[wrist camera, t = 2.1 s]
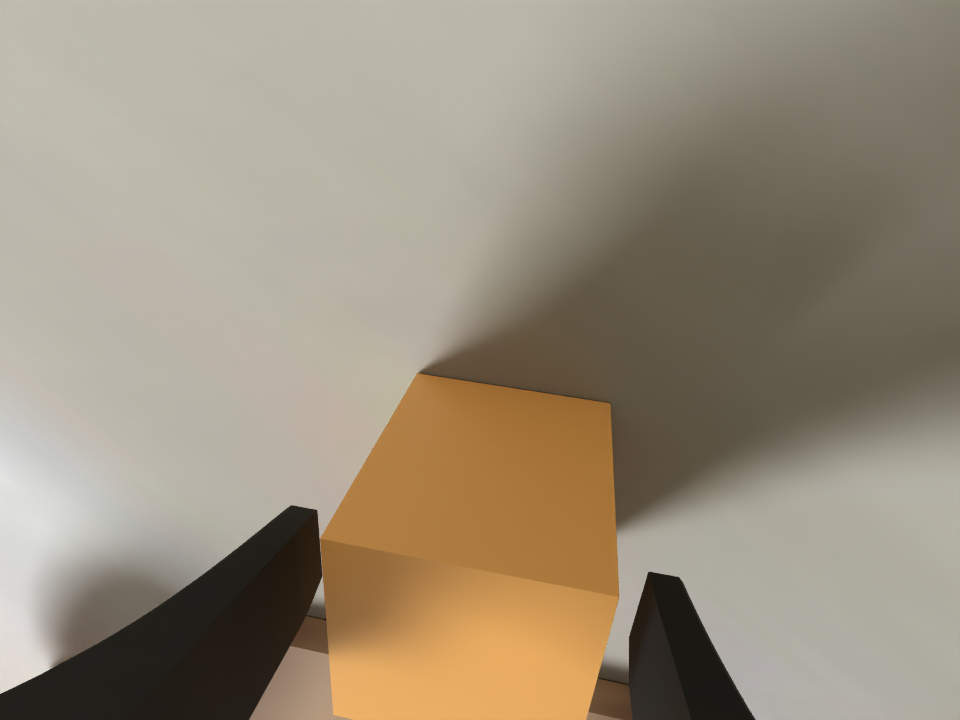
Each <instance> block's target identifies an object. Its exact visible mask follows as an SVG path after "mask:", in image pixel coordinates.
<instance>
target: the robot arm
mask: <svg viewBox="0 0 960 720" xmlns="http://www.w3.org/2000/svg"><path fill="white" fill-rule="evenodd" d="M321 578H322V565H321V552H320V539H319V526H318V513H317V510H314V509H309V508H303V507H298V506H292V505H291V506H290V507H288V508H287V509H286V510H284V511H283V512H282V513H281V514H279V515H278V516H277V517H276V518H274V519H273V520H272V521H271V522H269V523H268V524H267V525H266V526H264V527H263V528H262V529H261V530H260V531H258V532H257V533H256V534H255V535H253V536H252V537H251V538H250V539H248V540H247V541H246V542H245V543H243V544H242V545H241V546H240V547H238V548H237V549H236V550H234V551H233V552H232V553H231V554H229V555H228V556H227V557H225V558H224V559H223V560H221V561H220V562H219V563H218V564H216V565H215V566H214V567H212V568H211V569H210V570H208V571H207V572H206V573H204V574H203V575H202V576H200V577H199V578H198V579H196V580H195V581H193V582H192V583H191V584H189V585H188V586H186V587H185V588H184V589H182V590H181V591H179V592H178V593H176V594H175V595H174V596H172V597H171V598H169V599H168V600H167V601H165V602H164V603H162V604H161V605H159V606H158V607H156V608H155V609H153V610H152V611H150V612H149V613H147V614H146V615H144V616H142V617H141V618H139V619H138V620H136V621H135V622H133V623H131V624H130V625H128V626H127V627H125V628H123V629H122V630H120V631H118V632H117V633H115V634H113V635H112V636H110V637H108V638H107V639H105V640H103V641H101V642H100V643H98V644H96V645H94V646H93V647H91V648H89V649H87V650H85V651H83V652H82V653H80V654H78V655H76V656H74V657H72V658H71V659H69V660H67V661H65V662H63V663H61V664H59V665H58V666H56V667H54V668H52V669H50V670H48V671H46V672H45V673H43V674H41V675H39V676H37V677H35V678H33V679H31V680H28V681H26V682H24V683H22V684H20V685H18V686H16V687H14V688H12V689H10V690H8V691H6V692H4V693H1V694H0V720H249V719H250V717H251V715H252V714H253V712H254V710H255V708H256V707H257V705H258V703H259V701H260V699H261V698H262V696H263V694H264V692H265V690H266V689H267V687H268V685H269V683H270V681H271V680H272V678H273V676H274V674H275V672H276V671H277V669H278V667H279V665H280V663H281V662H282V660H283V658H284V656H285V654H286V653H287V651H288V649H289V647H290V645H291V643H292V642H293V640H294V638H295V636H296V634H297V633H298V631H299V629H300V627H301V625H302V623H303V621H304V619H305V617H306V615H307V612H308V610H309V608H310V605H311V603H312V600H313V598H314V595H315V593H316V590H317V588H318V585H319V583H320V580H321ZM629 691H630V700H631V710H632V719H633V720H755V718H754V716H753V715H752V713H751V712H750V710H749V708H748V707H747V705H746V703H745V702H744V700H743V698H742V696H741V695H740V693H739V691H738V690H737V688H736V686H735V684H734V682H733V681H732V679H731V677H730V675H729V673H728V672H727V670H726V668H725V666H724V664H723V663H722V661H721V659H720V657H719V655H718V653H717V651H716V650H715V648H714V646H713V644H712V642H711V640H710V638H709V636H708V634H707V632H706V630H705V628H704V626H703V624H702V622H701V620H700V618H699V616H698V614H697V612H696V610H695V608H694V606H693V603H692V601H691V599H690V597H689V595H688V593H687V590H686V588H685V586H684V584H683V582H682V581H681V579H680V578H679V577H675V576H670V575H664V574H659V573H653V572H648V575H647V579H646V582H645V586H644V589H643V592H642V596H641V599H640V602H639V606H638V609H637V612H636V616H635V619H634V623H633V626H632V629H631V633H630V636H629Z"/></svg>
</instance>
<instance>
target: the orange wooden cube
mask: <svg viewBox="0 0 960 720" xmlns="http://www.w3.org/2000/svg"><path fill="white" fill-rule="evenodd" d="M320 542H321V556H322V569H323V583H324V596H325V610H326V623H327V637H328V650H329V664H330V677H331V690H332V704H333V715H336V716H340V717H344V718H348V719H353V720H586V719H587V715H588V711H589V707H590V704H591V700H592V696H593V693H594V689H595V685H596V682H597V678H598V674H599V670H600V667H601V663H602V659H603V656H604V652H605V648H606V645H607V641H608V637H609V633H610V630H611V626H612V622H613V619H614V615H615V611H616V608H617V604H618V600H619V580H618V558H617V536H616V514H615V492H614V470H613V448H612V426H611V404H610V403H605V402H599V401H592V400H586V399H579V398H573V397H567V396H560V395H554V394H547V393H541V392H534V391H528V390H521V389H515V388H508V387H502V386H495V385H489V384H483V383H476V382H470V381H463V380H457V379H450V378H444V377H437V376H431V375H424V374H418V373H417V374H416V376H415V378H414V380H413V381H412V383H411V385H410V386H409V388H408V390H407V392H406V393H405V395H404V397H403V398H402V400H401V402H400V403H399V405H398V407H397V409H396V410H395V412H394V414H393V415H392V417H391V419H390V420H389V422H388V424H387V426H386V427H385V429H384V431H383V432H382V434H381V436H380V438H379V439H378V441H377V443H376V444H375V446H374V448H373V449H372V451H371V453H370V455H369V456H368V458H367V460H366V461H365V463H364V465H363V467H362V468H361V470H360V472H359V473H358V475H357V477H356V478H355V480H354V482H353V484H352V485H351V487H350V489H349V490H348V492H347V494H346V496H345V497H344V499H343V501H342V502H341V504H340V506H339V507H338V509H337V511H336V513H335V514H334V516H333V518H332V519H331V521H330V523H329V524H328V526H327V528H326V530H325V531H324V533H323V535H322V536H321V538H320Z"/></svg>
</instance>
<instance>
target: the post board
mask: <svg viewBox="0 0 960 720" xmlns="http://www.w3.org/2000/svg"><path fill="white" fill-rule="evenodd" d="M249 720H353V719H348V718H344V717H340V716H336V715H333V704H332V690H331V677H330V664H329V650H328V637H327V623H326V620H322V619H318V618H313V617H308V616H306V617H305V619H304V621H303V623H302V625H301V627H300V629H299V631H298V633H297V634H296V636H295V638H294V640H293V642H292V643H291V645H290V647H289V649H288V651H287V653H286V654H285V656H284V658H283V660H282V662H281V663H280V665H279V667H278V669H277V671H276V672H275V674H274V676H273V678H272V680H271V681H270V683H269V685H268V687H267V689H266V690H265V692H264V694H263V696H262V698H261V699H260V701H259V703H258V705H257V707H256V708H255V710H254V712H253V714H252V715H251V717H250V719H249ZM586 720H633V719H632V710H631V700H630V691H629V685H626V684H621V683H617V682H612V681H607V680H602V679H598V678H597V682H596V685H595V689H594V693H593V696H592V700H591V704H590V707H589V711H588V715H587V719H586Z"/></svg>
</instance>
